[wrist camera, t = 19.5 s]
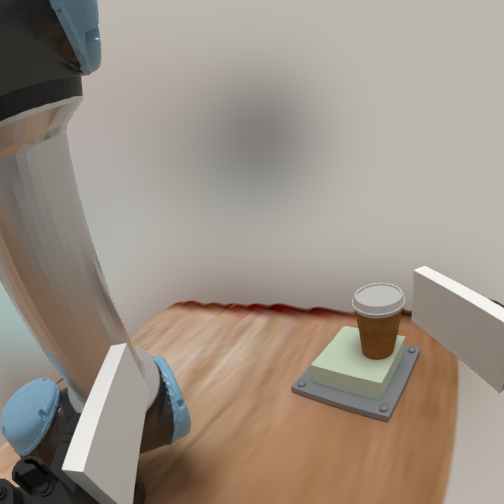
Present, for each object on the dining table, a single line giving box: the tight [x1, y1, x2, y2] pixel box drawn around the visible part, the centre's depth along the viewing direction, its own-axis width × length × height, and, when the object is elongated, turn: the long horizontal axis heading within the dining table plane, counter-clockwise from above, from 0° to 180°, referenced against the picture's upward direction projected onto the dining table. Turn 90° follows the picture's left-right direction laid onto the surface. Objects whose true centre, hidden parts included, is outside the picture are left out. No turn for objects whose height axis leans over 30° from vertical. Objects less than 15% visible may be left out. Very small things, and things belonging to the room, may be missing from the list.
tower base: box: [291, 326, 420, 422], centre depth 52 cm, size 20×20×6 cm
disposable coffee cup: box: [352, 283, 405, 360], centre depth 48 cm, size 10×10×12 cm
